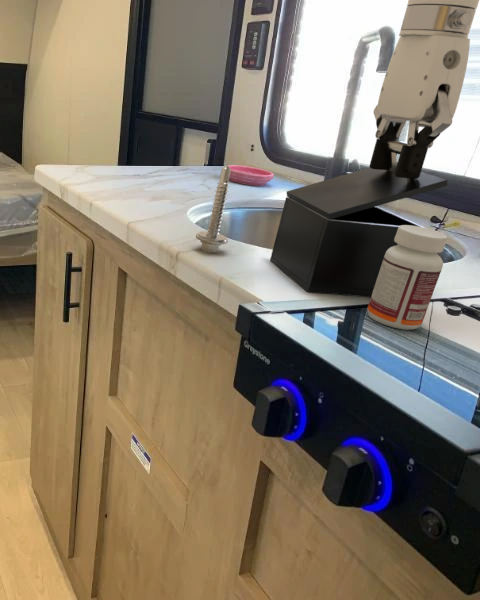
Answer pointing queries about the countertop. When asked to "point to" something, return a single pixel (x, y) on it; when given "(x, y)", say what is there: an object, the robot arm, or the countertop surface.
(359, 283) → the bin
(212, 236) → the screw
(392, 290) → the pill bottle
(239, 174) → the saucer
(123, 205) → the countertop surface
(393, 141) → the bin lid
